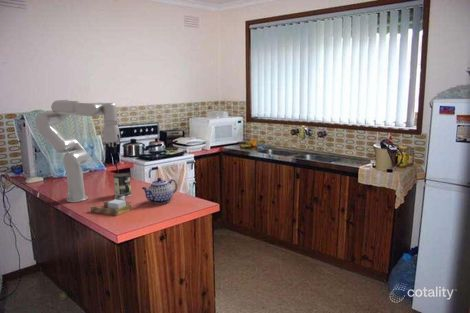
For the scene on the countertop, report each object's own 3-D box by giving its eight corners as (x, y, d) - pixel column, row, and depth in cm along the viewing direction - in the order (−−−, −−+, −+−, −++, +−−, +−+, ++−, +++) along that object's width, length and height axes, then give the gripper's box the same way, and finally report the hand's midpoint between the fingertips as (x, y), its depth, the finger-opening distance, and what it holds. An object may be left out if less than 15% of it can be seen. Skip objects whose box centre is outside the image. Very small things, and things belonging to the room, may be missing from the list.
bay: (90, 211, 216) (90, 206, 216) (105, 205, 226) (104, 200, 226) (117, 215, 208) (116, 210, 207) (131, 209, 218) (130, 204, 217)
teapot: (171, 194, 246) (170, 172, 243) (185, 199, 234) (183, 176, 232) (136, 203, 229) (134, 179, 226) (149, 208, 218) (147, 183, 215)
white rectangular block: (108, 212, 214) (107, 202, 213) (116, 209, 219) (115, 199, 218) (119, 214, 211) (118, 203, 210) (126, 210, 216) (125, 200, 215)
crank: (119, 197, 226) (118, 188, 225) (116, 196, 228) (115, 188, 227) (130, 192, 235) (130, 184, 234) (127, 192, 236) (126, 184, 235)
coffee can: (134, 193, 251) (132, 173, 249) (126, 198, 241) (125, 176, 239) (120, 193, 253) (118, 172, 251) (112, 197, 243) (110, 176, 241)
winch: (109, 204, 228) (108, 197, 227) (118, 201, 235) (118, 194, 234) (122, 206, 224) (121, 199, 223) (131, 202, 231) (130, 195, 230)
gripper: (97, 123, 227) (99, 153, 230) (115, 124, 220) (118, 154, 224) (106, 122, 233) (108, 151, 237) (124, 123, 227) (127, 152, 230)
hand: (113, 153), depth 230 cm, fingers closed
